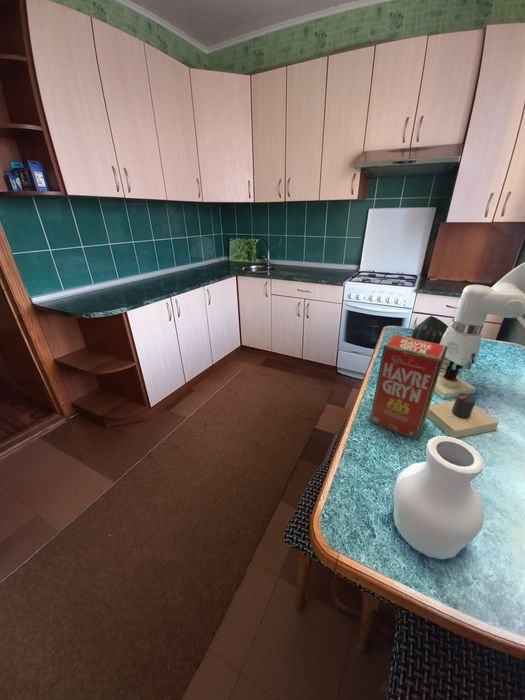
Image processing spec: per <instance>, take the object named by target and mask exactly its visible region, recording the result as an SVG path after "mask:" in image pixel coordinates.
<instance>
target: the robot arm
mask: <svg viewBox="0 0 525 700" xmlns="http://www.w3.org/2000/svg"><path fill="white" fill-rule="evenodd" d="M456 309H457V310H456V312H455V315H454V317H453V318H452V319H451V321H452V323H453V325H452V326H450V327H449V329H448V330H447V332H446V334H445V336H444V338H443V340H442V343H441V345H446V346H447V351H446V354H445V359H446V366H447V369H446V372H444V373H445V375H444V377H446V378H447V379H453V378H456V376H458V374H459V372H460V370H466V371H469V370H472V365H474V364H475V362H476V361H477V358H478V355H479V351H480V347H481V342H482V334H481V333H482V330H483V327H484V325H485V322H486V319H487V316H488V315H491V316H497V317H500V318H504V319H505V318H506V319H516V318H520V317H522V316H524V315H525V261H524V262H523V263H521V264H519V265H518V266H516V267H514V268H513V269H512V270H510V271H509V272H508V273H506V274H505V275H504V276H503V277H502V278H500V279H499V280H498V281H496V282H495V284H494V285H492V286H491V287H490V286H487V285H483V284H470V285H466V286H465V287H464V288H463V290H462V293H461V296H460V299H459V302H458V306H457V308H456ZM459 369H460V370H459ZM458 371H459V372H458Z"/></svg>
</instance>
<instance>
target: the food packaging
mask: <svg viewBox="0 0 525 700" xmlns="http://www.w3.org/2000/svg"><path fill="white" fill-rule="evenodd" d="M446 351H447V346H446V345H441V344H436V343H431V342H426V341H422V340H417V339H413V338H412V337H407V336H403V335H399V334H392V335H391V337H390V338H389V339H388V341H387V342H386V343H385V345H383V350H382V355H381V358H380V359H381V360H380V365H379V369H378V376H377V380H376V386H375V387H376V388H375V392H374V396H373V400H372V407H371V411H370V417H369V422H371V423H374V424H376V425H378V426H381V427H383V428H386V429H388V430H390V431H393V432H395V433H399V434H401V435H403V436H405V437H408V438H411V439H413V440H416V441H417V440H419V438H420V436H421V434H422V431H423V428H424V426H425V422H426V420H427V413H428V410H429V407H430V405H431V403H432V400H433V396H434V394H435V392H434V390H435V386H436V383H437V380H438V377H439V375H440V374H441V367H442V364H443V360H444V357H445V354H446Z"/></svg>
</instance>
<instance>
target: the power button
mask: <svg viewBox="0 0 525 700" xmlns="http://www.w3.org/2000/svg"><path fill="white" fill-rule="evenodd" d="M444 379H446V380H448V381H453V382H455V381H456V380H457V378H453V379H447V378H446V377H444Z"/></svg>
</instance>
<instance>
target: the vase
mask: <svg viewBox="0 0 525 700" xmlns="http://www.w3.org/2000/svg"><path fill="white" fill-rule="evenodd" d="M425 456H426V461H420V462H415V463H412V464H410V465H408V466H407V467H406V468H404V469H402V471H401V472H399V474H398V476H397V479H396V481H395V484H394V487H393V493H392V494H393V496H392V497H393V507H394V508H393V519H394V524H395V527H396V529H397V531H398V532H399V534H400V536H401V537H402V539H403V540H404V541H406V542H407V544H408V545H410V546H411V548H412V549H415V550H416V551H418V552H419V553H421V554H423V555H425V556H427V557H429V558H434V559H438V560H446V559H450V558H454V557H456V555H457V554H459V552H460V551H461V550H462V549H464V548H465V547H467V546H468V545H470V543H471V542H473V540H475V538H476V537H477V536H478V535H479V534H480V533H481V531H482V529H483V526H484V516H485V515H484V511H485V510H484V505H483V502H482V499H481V498H480V495H479V493H478V492H477V490H476V488H475V486H474V485H473V483H471V482H472V481H473V480H475V479H477V477H478V476H479V475H480V474H482V472H483V470H484V467H485V460H484V459H483V457H482V455H481V454H480V452H479V451H478V450H477V449H475V448H474V447H473V446H472V445H471V444H469V443H467V442H465V441H464V440H461V439H458V438H453V437H450V436H448V435H446V436H445V435H438V436H433V437H432V438H430V439H429V440H428V441H427V444H426V448H425Z"/></svg>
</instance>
